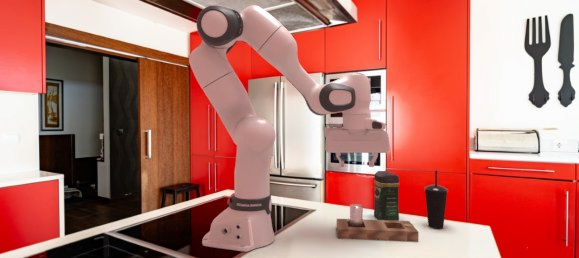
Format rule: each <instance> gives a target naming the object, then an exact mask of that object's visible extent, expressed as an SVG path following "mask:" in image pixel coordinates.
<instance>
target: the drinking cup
mask: <svg viewBox="0 0 579 258" xmlns="http://www.w3.org/2000/svg"><path fill="white" fill-rule="evenodd" d="M423 189H424V192H425V193H424V194H425V202H426V203H425V205H426V215H427V216H426V217H427V224H428V227H429V228H431V229H434V230H443V229H444V226H445V216H446V206H447V196H448V192H449V189H448V188H446V187H444V185H443V186H442V185H439V184H438V170H434V184H430V185H427V186H424V188H423Z"/></svg>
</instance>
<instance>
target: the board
mask: <svg viewBox="0 0 579 258" xmlns="http://www.w3.org/2000/svg"><path fill="white" fill-rule="evenodd" d="M336 232H337V239H339V240H361V241H362V240H365V241H386V242H387V241H388V242H409V243H410V242H415V243H418V242H419V231H418V230H417V229H416V227H415V226H414V225H413V224H412V222H411V221H410V220H399V221H394V220H378V219H363V218H362V227H350V218H336Z"/></svg>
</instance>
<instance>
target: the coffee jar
mask: <svg viewBox="0 0 579 258" xmlns="http://www.w3.org/2000/svg"><path fill="white" fill-rule="evenodd" d="M373 182H374V207H373V209H374V210H373V217H374V218H375V220H394V221H400V213H399V212H400V209H399V203H400V202H399V189H400V188H399V187H400V176H399V175H397V174H396V173H393V172H390V171H388V170H377V171H376V172H375V173H374V181H373Z"/></svg>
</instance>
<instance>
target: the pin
mask: <svg viewBox="0 0 579 258" xmlns="http://www.w3.org/2000/svg"><path fill="white" fill-rule="evenodd" d="M363 210H364V209H363V205H362V204H358V203H351V204H350V205H349V219H350V227H362V219H363V216H364V215H363Z"/></svg>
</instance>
